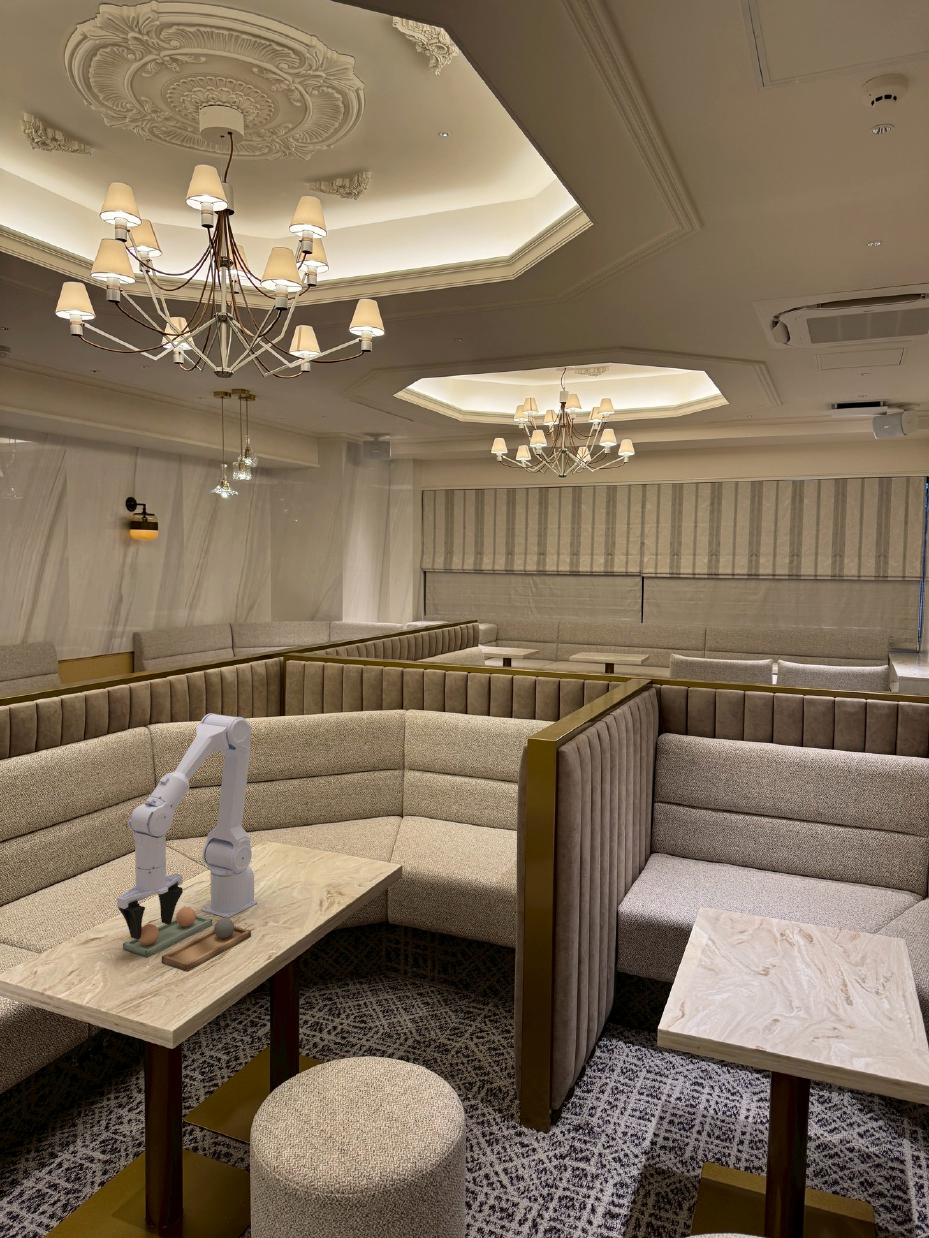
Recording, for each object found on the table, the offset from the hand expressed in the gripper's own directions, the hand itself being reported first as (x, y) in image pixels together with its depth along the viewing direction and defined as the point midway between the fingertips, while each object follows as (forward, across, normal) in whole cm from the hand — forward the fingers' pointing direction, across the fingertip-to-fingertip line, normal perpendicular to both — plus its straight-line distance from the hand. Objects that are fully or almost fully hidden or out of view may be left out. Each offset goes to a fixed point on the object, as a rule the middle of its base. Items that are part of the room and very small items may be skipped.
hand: (151, 930), depth 164 cm
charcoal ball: (+1, +9, -11) cm, 14 cm away
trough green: (+3, +4, 0) cm, 5 cm away
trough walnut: (+3, +4, -11) cm, 12 cm away
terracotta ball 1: (+1, -1, 0) cm, 1 cm away
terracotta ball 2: (+1, +9, 0) cm, 9 cm away
